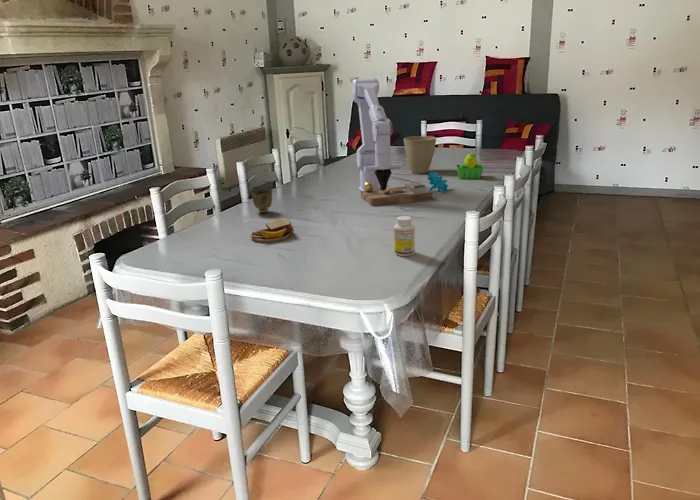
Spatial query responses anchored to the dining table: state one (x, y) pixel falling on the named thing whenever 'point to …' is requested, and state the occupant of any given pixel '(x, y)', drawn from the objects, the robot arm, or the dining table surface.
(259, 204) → the cup
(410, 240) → the supplement bottle
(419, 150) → the plant pot
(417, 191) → the cover
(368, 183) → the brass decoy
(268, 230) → the toy sandwich meal
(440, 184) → the blue irregular figure
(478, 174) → the fruit basket
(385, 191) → the steel ball
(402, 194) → the wooden cutting board
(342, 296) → the dining table surface
